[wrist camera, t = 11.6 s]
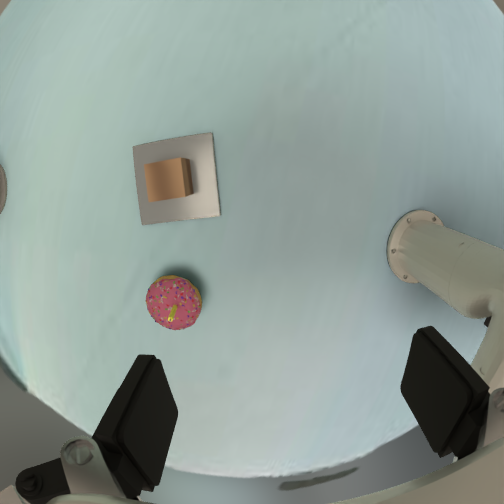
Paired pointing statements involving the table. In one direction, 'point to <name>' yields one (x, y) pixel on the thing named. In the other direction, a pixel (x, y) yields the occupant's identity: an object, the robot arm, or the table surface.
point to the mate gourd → (2, 188)
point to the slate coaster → (201, 172)
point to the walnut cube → (168, 179)
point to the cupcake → (174, 302)
